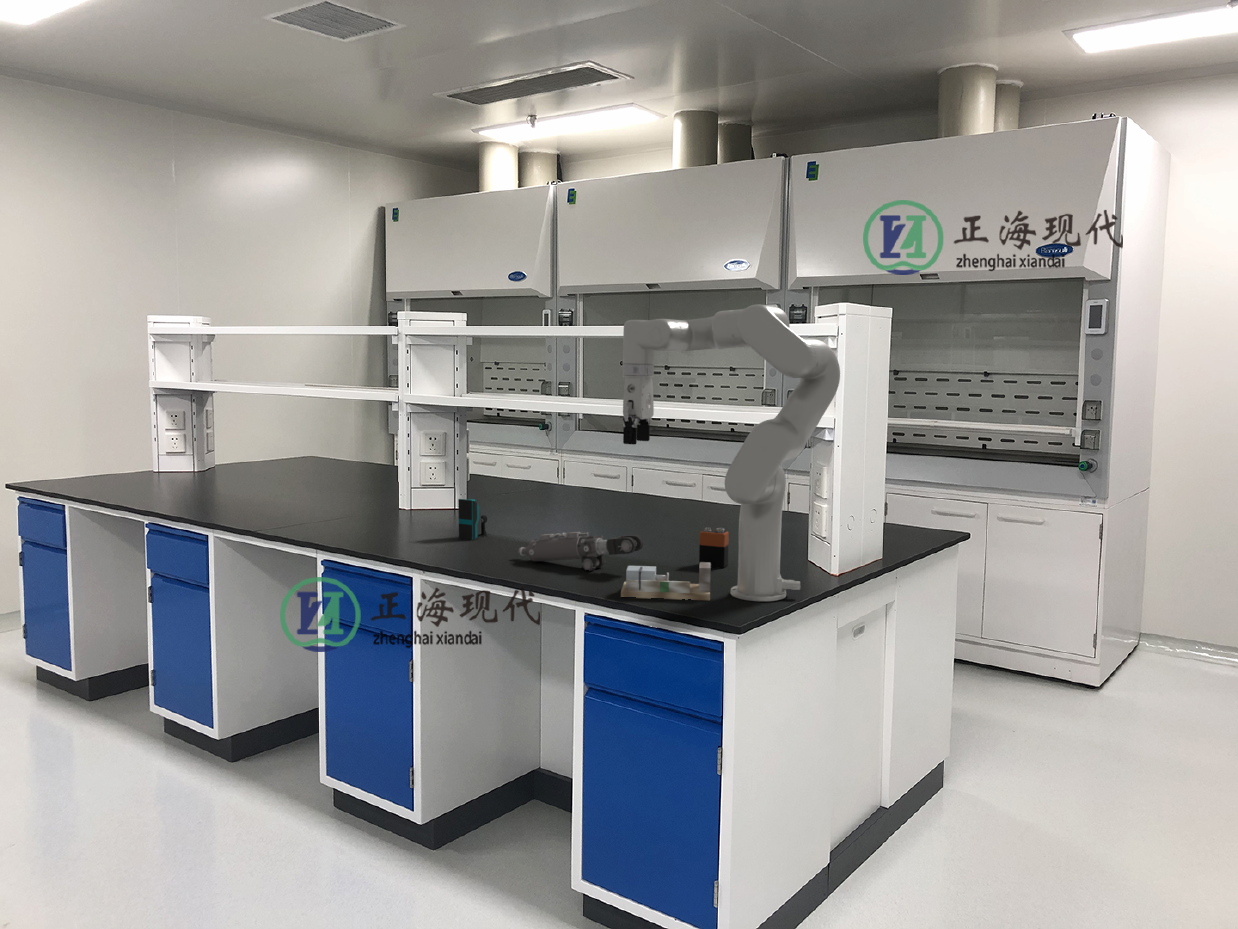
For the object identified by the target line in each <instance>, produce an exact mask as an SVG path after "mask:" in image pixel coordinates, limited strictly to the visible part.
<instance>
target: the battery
mask: <svg viewBox="0 0 1238 929" xmlns="http://www.w3.org/2000/svg"><path fill="white" fill-rule="evenodd" d="M729 534H730V533H729V531H726V530H725V528H723V527H717V528H715V529H711V527H705V528H704V530H702V531H700V532H699V546H698V547H699V548H698V550H699V552H698V554H699V556H698V560H699V561H698V562H699V563H698V566H700V562H708V563H711V568H717V569H723V568H725V567H727V566H728V564H729V540H730V539H729V538H730V537H729Z"/></svg>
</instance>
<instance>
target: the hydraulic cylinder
mask: <svg viewBox="0 0 1238 929" xmlns="http://www.w3.org/2000/svg"><path fill="white" fill-rule="evenodd" d="M643 547H644V540H643V538H642V536H640V535H638V534H629V535H619V536H618V535H617V536H614V537H610V538H607V539H604V536H603V535H590V533H589V532H588V531H586V532H581V531H573V532H562V533H559V532H558V533H546V534H540V535H539V538H538V539H531V540H530V542H529V543H528V546H527V545H526V547H524V546H521V547H519V548H518V550H517V553H518V555H520V556H526V555H527V557H529V559H530V560H531V561H532V562H550V561H551V562H552V561H553V562H554V561H570V560H580V561H581V564H582V565H581V566H582V569H584V570H585V571H586V570H589V571H588V572H591V571H595V570H596V569H600V568H603V566H604V565H605V564H608V563H607V562H606V561H605V556H604V555H605V554H606V553H608V555H609V556H613V555H614V556H615V555H628V554H629V555H630V554H631V553H634V552H637V551H640V550H642V548H643Z"/></svg>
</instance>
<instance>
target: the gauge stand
mask: <svg viewBox="0 0 1238 929" xmlns="http://www.w3.org/2000/svg"><path fill="white" fill-rule="evenodd" d="M698 566H699V571H698V574H699V575H698V576H699V577H698V583H691V581H683V580H682V581H678V580H669V581H667V580H656V581H651V580H641V584H639V580H628V588H626V581H624V582H623V584H622V587H621V590H620V598H621V597H636V598H635V599H651V598H664V599H663V600H682V599H685V601H688V599H691V600H690V601H692V600H693V601H711V571H712V570H711V568H712V567H711V563H708V562H700V565H698Z"/></svg>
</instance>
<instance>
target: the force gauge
mask: <svg viewBox="0 0 1238 929" xmlns="http://www.w3.org/2000/svg"><path fill="white" fill-rule="evenodd" d="M625 575H626V576H625V578H626V579H625V582H626V588H628V580H639V584H641V580H651V581H670V573H669V572H666V574H657V566H652V565H651V566H649V565H648V566H647V565H627V568H626V574H625Z"/></svg>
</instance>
